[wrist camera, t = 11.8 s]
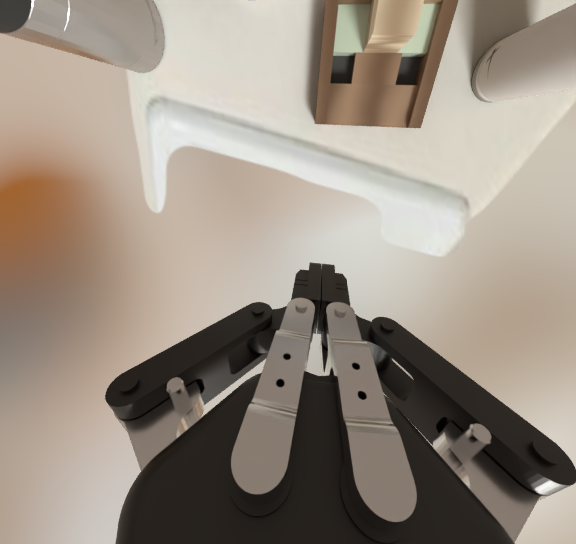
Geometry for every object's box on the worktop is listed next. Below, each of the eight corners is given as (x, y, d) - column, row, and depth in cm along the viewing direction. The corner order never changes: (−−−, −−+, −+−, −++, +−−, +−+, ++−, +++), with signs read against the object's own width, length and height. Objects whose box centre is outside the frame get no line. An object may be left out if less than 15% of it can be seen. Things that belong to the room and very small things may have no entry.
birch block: (362, 52, 28) (373, 33, 22) (370, 4, 26) (383, -32, 20) (396, 52, 28) (416, 33, 22) (407, 3, 25) (431, -33, 20)
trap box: (315, 123, 34) (315, 123, 32) (325, 5, 28) (325, -7, 25) (413, 127, 33) (420, 128, 30) (447, 4, 26) (460, -8, 24)
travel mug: (461, 66, 29) (648, -14, 12) (526, 21, 26) (877, -161, 10) (474, 115, 31) (646, 104, 15) (534, 78, 29) (828, 13, 12)
